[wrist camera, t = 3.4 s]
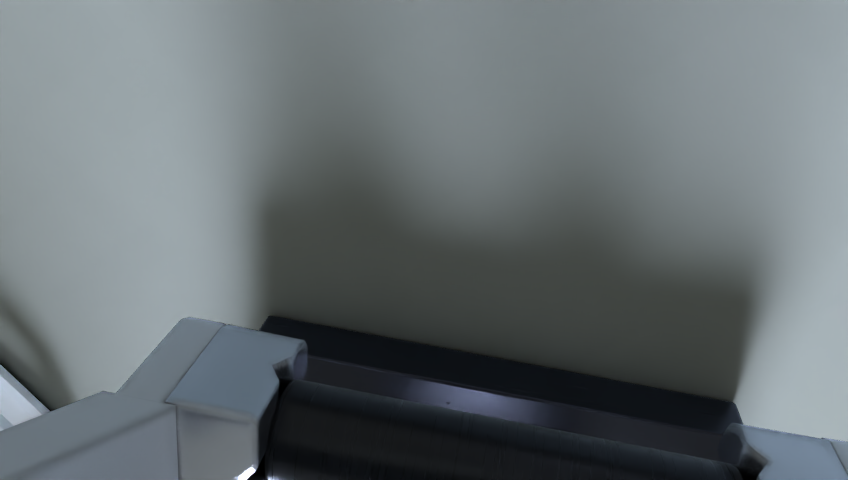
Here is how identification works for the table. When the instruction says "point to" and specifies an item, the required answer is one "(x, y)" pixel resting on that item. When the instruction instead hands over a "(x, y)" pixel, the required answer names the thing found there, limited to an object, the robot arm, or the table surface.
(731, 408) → the black lever stand
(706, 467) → the tap lever
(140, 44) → the table surface
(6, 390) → the phone case
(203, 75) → the table surface
